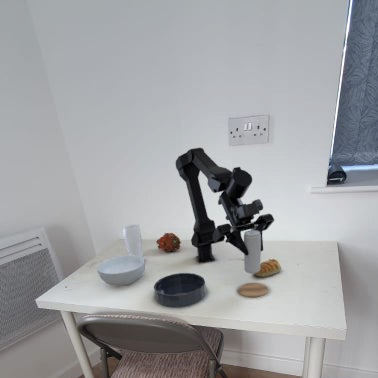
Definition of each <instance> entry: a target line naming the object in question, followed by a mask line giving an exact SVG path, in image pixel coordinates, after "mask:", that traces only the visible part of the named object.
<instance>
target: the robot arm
mask: <svg viewBox="0 0 378 378" xmlns="http://www.w3.org/2000/svg"><path fill="white" fill-rule="evenodd" d="M175 169H176V170H177V172H178V175H179V177H180V178H181V179H182V180H183V181H184V182H185V185H186V188H187V192H188V197H189V200H190V206H191V209H192V212H193V216H194V220H195V221H194V224H193V227H192V230H193V234H192V237H191V239H190V242H191V245H192V247H194V248H195V249H196V250H197V255H196V256H195V258H196V260H197V262H198V263H206V262H213V261H215V260H216V259H215V256H214V255H213V246H212V245H214V244H218V243H221V242H224V241H225V243H229V244H230V245H232V246H233V247H234V248H236V249H238V251H240V252H241V253H242V254H243V255H244V254H245V255H246V256H247V255H248V254H249V253H248V250H247V248H246V246H245V243H244V238H243V237H242V232H246V231H250V230H257V231H260V234H261V252H263V251H264V240H263V239H264V238H263V232H264V231H266V230H268V229H269V228H270V227H271V225H272V224H273V223H274V222H275V218H274V216H273V214H271V213H265V214H261V215H260V212H261V211H263V210H264V204H263V202H262V201H261V199H260V198H258V199H255V200H252V201H251V203H243V201H242V198H243V197H245V195H246V193H247V191H248V190H249V188H250V187H251V184H252V183H253V177H252V174H251V173H249V171H247V170H245V169H242V168H241V166H236V167H233V168H232V170H231V169H228V168H226V167H223V166H220V165H218V164H217V163H216V162H215V161H214V160H213V159H212V158H211V157H210V156H209V155H208V154H207V153H206V152H205V150H204V148H203V147H194V148H190V149H188V150H187V151H186V152H185V153H183V154H181V155H179V156H177V158H176V160H175ZM200 173H202V174H203V176H204V177H205V178H206V179H207V186H208V187H209V189H210V191H211V193H214V194H217V193H220V194H219V196H218V200H217V205H218V206H222V208H223V210H224V212H225V220H226V221H228V222H229V223H224V224H220V225H217V226H216V222H215V221H214V220H213V219H211V218H210V217H209V216H208V212H207V208H206V204H205V200H204V196H203V191H202V188H201V183H200V180H199V176H200ZM255 215H259V216H258V217H257V218H256V220H254V219H255ZM252 220H254V221H252ZM225 239H226V240H225Z"/></svg>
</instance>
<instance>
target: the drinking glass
mask: <svg viewBox="0 0 378 378" xmlns="http://www.w3.org/2000/svg"><path fill="white" fill-rule="evenodd" d="M121 229H122V234H123V239H124V243H125V245H126V249H127V252H128V255H137V256H140V257H142V258H143V259H144V260H145V258H144V251H143V240H142V232H141V227H140V225H139V224H138V223H131V224H127V225H124V226H123V227H122V228H121Z"/></svg>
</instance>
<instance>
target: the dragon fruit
mask: <svg viewBox="0 0 378 378" xmlns="http://www.w3.org/2000/svg"><path fill="white" fill-rule="evenodd" d="M181 243H182V241H181V240H180V237H178V235H176V234H175V233H173V232H165V233H164V234H163V235H162V236H161V237H160V238H158V239H156V244H157V248H158V249H159V250H164V252H165V253H168V252H169V251H170V252H171V253H173V252H175V251H176V250H178V249H180V248H181Z"/></svg>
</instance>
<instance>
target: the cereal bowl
mask: <svg viewBox="0 0 378 378" xmlns="http://www.w3.org/2000/svg"><path fill="white" fill-rule="evenodd" d="M143 258H144V257H143ZM143 258H142V257H140V256H137V255H129V254H121V255H117V256H113V257H110V258H107V259H105V260H103V261H101V262H100V263H99V264H98V265H97V267H96V268H97V269H96V270H97V274H98V276H99V278H100V279H101V280H102V281H103V282H104V283H106V284H109V285H111V286H120V287H122V286H127V285H130V284H132V283H134V282H136V281H138V280H139V279H140V278H141V277H142V276H143V275H144V273H145V271H146V262H145V261H146V260H145V258H144V259H143Z"/></svg>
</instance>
